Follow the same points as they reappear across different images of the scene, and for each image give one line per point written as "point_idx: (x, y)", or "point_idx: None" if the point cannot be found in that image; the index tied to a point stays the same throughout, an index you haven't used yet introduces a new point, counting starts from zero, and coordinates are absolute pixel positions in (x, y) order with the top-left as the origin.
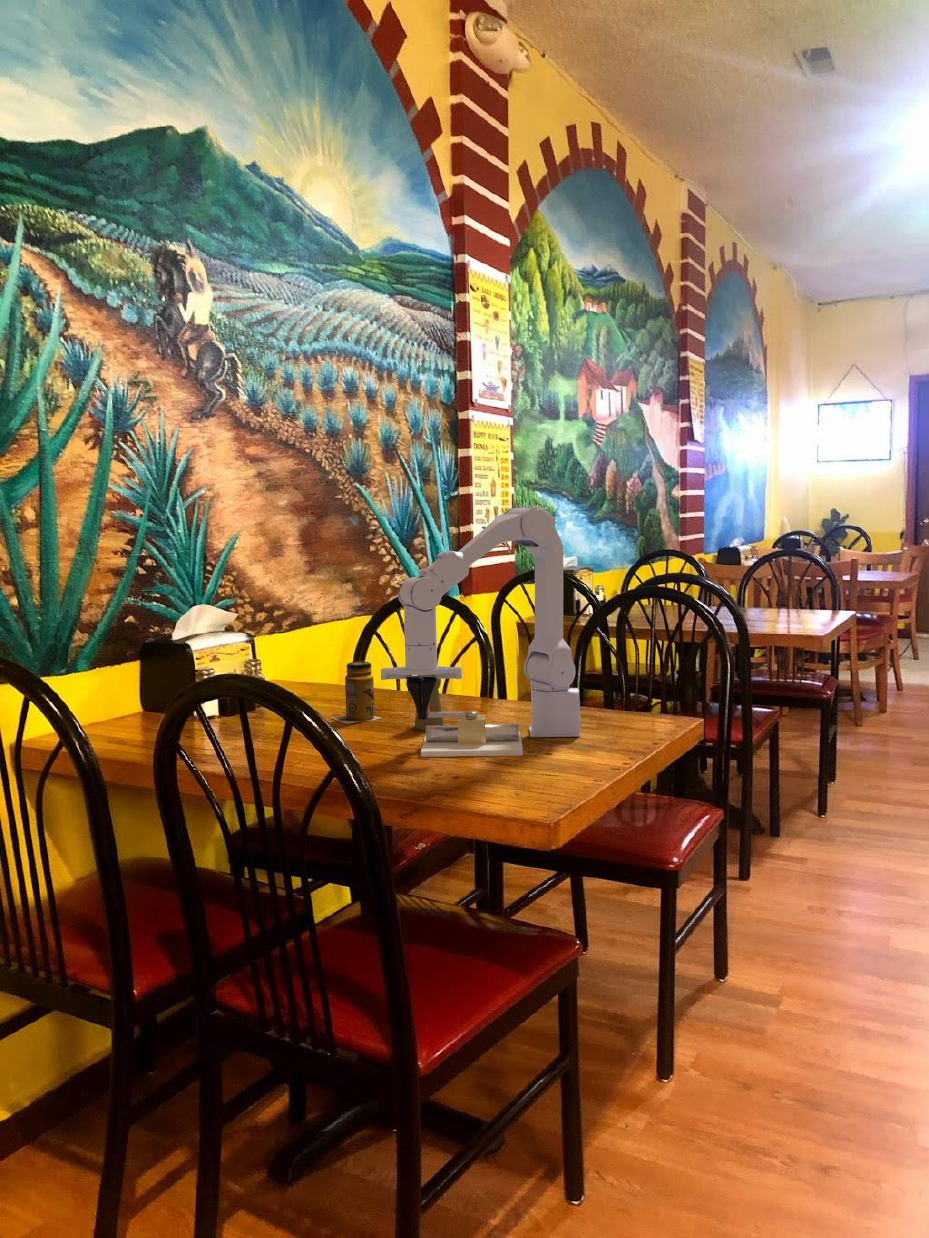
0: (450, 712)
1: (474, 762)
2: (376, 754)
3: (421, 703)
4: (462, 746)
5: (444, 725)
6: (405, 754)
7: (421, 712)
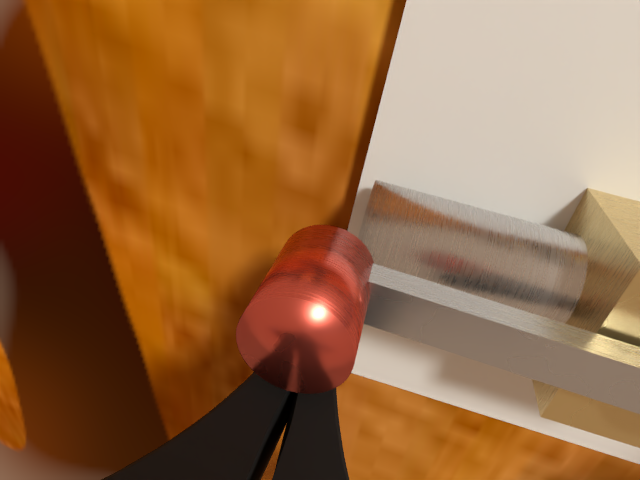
0: (533, 359)
1: (497, 472)
2: (147, 245)
3: (271, 438)
4: None
5: (475, 287)
6: None
7: (281, 432)
